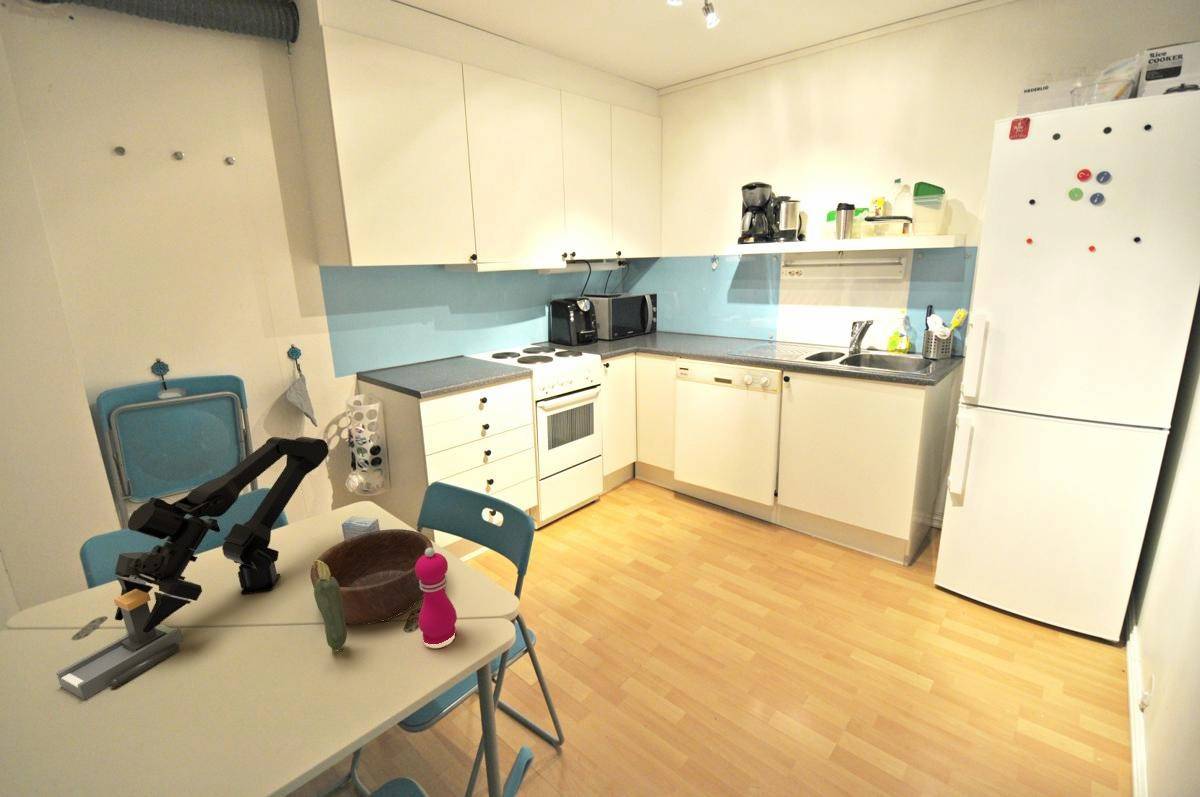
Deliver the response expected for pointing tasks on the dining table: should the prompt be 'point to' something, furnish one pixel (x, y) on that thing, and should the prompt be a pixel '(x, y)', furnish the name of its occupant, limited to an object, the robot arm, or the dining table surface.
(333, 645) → the vegetable
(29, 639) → the dining table surface
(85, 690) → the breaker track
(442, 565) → the pepper mill
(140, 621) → the orange-capped post
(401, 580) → the wooden bowl
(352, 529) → the medicine box
